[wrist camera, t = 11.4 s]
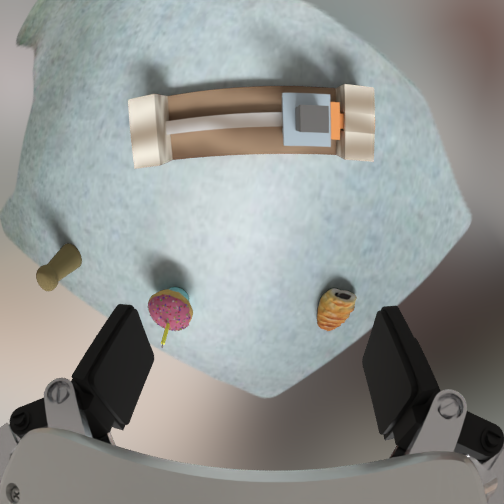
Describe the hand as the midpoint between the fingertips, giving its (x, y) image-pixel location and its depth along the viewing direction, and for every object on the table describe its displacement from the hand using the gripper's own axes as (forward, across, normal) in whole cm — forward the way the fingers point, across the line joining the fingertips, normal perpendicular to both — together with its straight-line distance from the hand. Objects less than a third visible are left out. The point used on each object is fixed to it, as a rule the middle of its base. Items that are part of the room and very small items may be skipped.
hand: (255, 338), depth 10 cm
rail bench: (+33, +2, -8) cm, 34 cm away
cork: (+34, +42, +14) cm, 56 cm away
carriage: (+32, -5, -8) cm, 33 cm away
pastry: (+34, -12, +25) cm, 44 cm away
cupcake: (+34, +18, +23) cm, 45 cm away
